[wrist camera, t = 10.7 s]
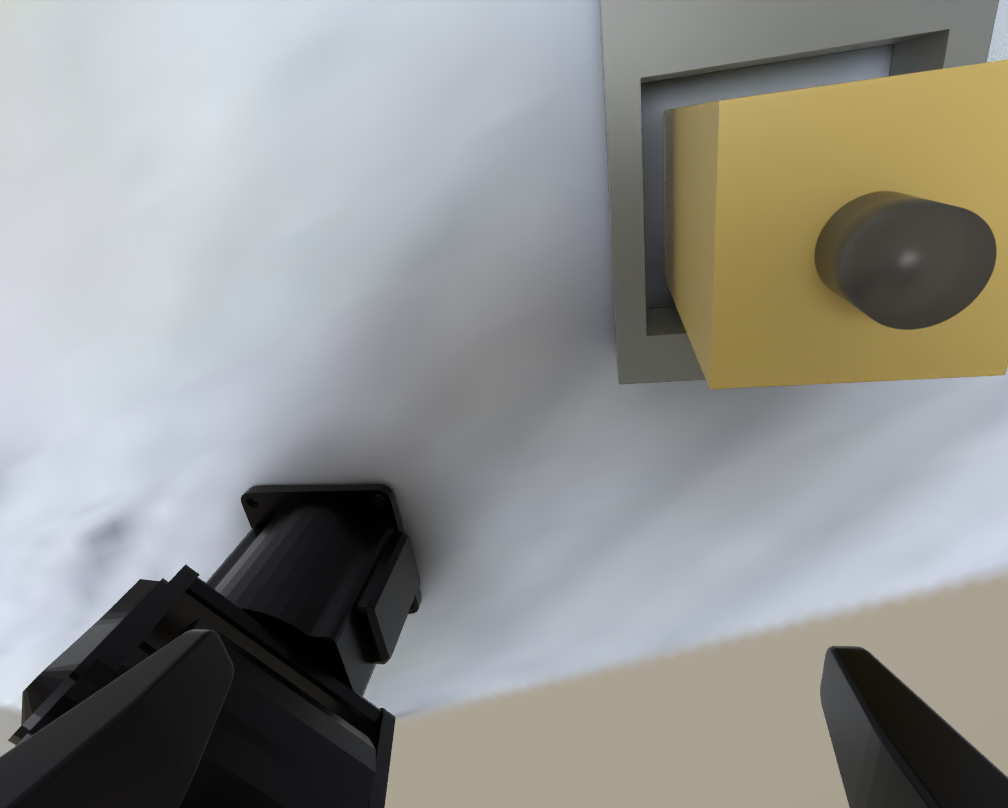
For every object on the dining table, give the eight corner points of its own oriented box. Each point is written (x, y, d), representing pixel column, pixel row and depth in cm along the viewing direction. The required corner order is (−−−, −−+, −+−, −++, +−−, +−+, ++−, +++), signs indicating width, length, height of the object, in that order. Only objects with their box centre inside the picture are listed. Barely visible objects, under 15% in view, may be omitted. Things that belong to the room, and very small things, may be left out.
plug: (665, 279, 17) (727, 433, 9) (664, 110, 15) (743, 96, 7) (829, 265, 16) (1078, 420, 8) (851, 84, 14) (1216, 29, 6)
